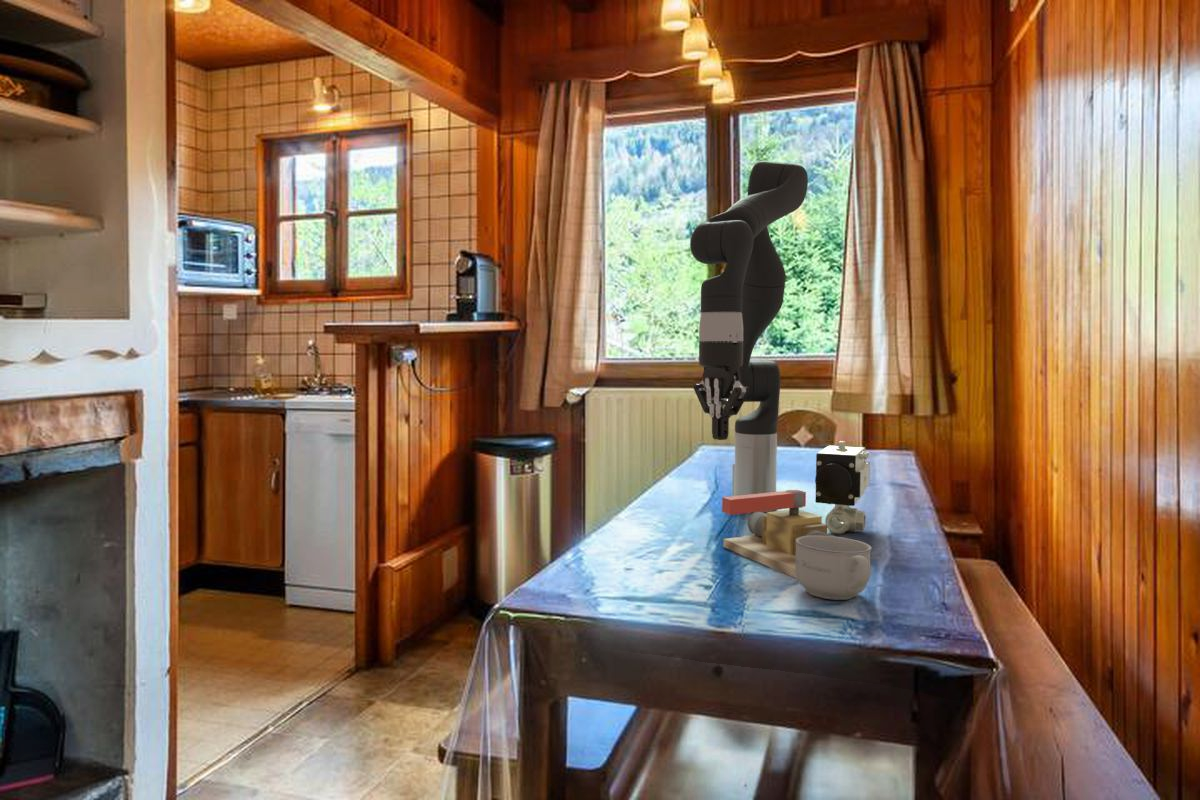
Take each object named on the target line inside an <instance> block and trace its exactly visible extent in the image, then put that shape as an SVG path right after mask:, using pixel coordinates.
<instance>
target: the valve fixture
mask: <svg viewBox="0 0 1200 800" xmlns="http://www.w3.org/2000/svg"><path fill="white" fill-rule="evenodd" d="M822 518H823V517H822V516H821V515H818V514H815V513H812V512H809V511H805V510H802V509H800V508H788V509H782V510H777V511H776V510H774V511H769V512H752V514H751V515H750V516H749V518H748V522H747V528H748V530H749V532H750V533H751V535H743V536H738V537H737V536H736V537H735V536H734V537H729V538H723V542H722V543H723V546H722V547H723V548H725V549H727V550H730V551H732V552H735V553H736V554H738V555H742V556H743V557H746V558H748V559H750V560H753V561H755V562H756V563H757V562H758V563H760V564H762V565H765V566H767V567H769V568H771V569H774V570H776V571H778V572H780V573H783V574H785V575H787V574H788V576H789V575H790V577H792V576H793V577H792V578H794V577H795V579H796V578H797V577H796V570H795V559H796V539H797V538H799V537H802V536H814V535H819V536H834V537H837V536H836V535H833V534H832V535H831V534H829V533H828V528H827V525H826V523H823V522H822Z"/></svg>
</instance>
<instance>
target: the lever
mask: <svg viewBox="0 0 1200 800" xmlns="http://www.w3.org/2000/svg"><path fill="white" fill-rule="evenodd" d="M806 497H807V493H806V491H803V490H799V489H787V490H781V491H779V490H778V491H776V492H769V493H759V494H749V495H740V496H732V495H731V496H722V500H721V502H722V503H721V504H722V506H721V507H722V508H721V511H722V513H723V514H724V513H725V514H727V515H730V516H731V515H741V514H749V513H754V512H760V511H769V510H774V511H776V510H777V511H779V510H788V509H789V508H799V509H800V508H801V509H802V508H804V507H806V505H807V504H806V502H807V500H806ZM769 512H770V511H769Z"/></svg>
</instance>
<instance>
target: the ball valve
mask: <svg viewBox="0 0 1200 800" xmlns="http://www.w3.org/2000/svg"><path fill="white" fill-rule="evenodd" d="M869 454H870V453H869V451H866V447H865V446H854V445H853V446H852V445H846V441H845V440H844V441H843V440H840V441H838V445H836V444H835V445H833V444H829V445H828V446H826V447H824V448H823V449H821V450H820V451H819V452H817V453H816V454H815V457H816V458H815V463H816V464H815V465H816V466H815V477H814V478H815V479H814V483H815V503H816V504H817V503H818V504H827V505H834V507H833V508H832V509H831V510H830V511H829V512H828V513H827V515H825V516H826V517H825V520H824V521H825V522H824V524H826V525H827V530H828V531H830V532H831V533H833V534H837V535H840V534H844V533H846V532H850V533H857V531H865V529H866V524H867V523H866V521H867V520H866V516H867V515H866V511H864V510H859V509H858V508H856V507H855V508H854V506H855V505H857V503H858V501H860V499H861V498H862V496H863V495H864V494H865V491H866V490H867V489H868V487H869V486H870V477H871V476H870V475H871V472H870V471H871V469H870V467H871V462H870V461H866V460H868V459H869V458H870V457H869Z"/></svg>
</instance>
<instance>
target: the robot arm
mask: <svg viewBox="0 0 1200 800" xmlns="http://www.w3.org/2000/svg"><path fill="white" fill-rule="evenodd" d="M808 176H809V175H808V172H807V169H806V168H805V167H803V166H802V165H800V164H797V163H789V162H777V161H768V160H767V161H766V160H760V161H757V162H755V163H754V165H753V166H752V169H751V170H750V174H749V178H748V184H747V195H746V196H744V197H743V198H740V199H739V200H737V201H736V202H735V203H734V204H733V205H731V206H730V207H729V208H728V209H726V211H725V212H722V213H721V212H720V213H719V214H716V215H714V216H712V217H709V218H707V219H706V220H704V221H702V222H700V223H699V224H698V225H697V226H696V227H695V228H694V229H693V232H692V233H691V237H690V242H689V247H690V249H689V250H690V252H691V255H692V256H693V258H694V259H695V260H696V261H697V262H699V263H700V264H704V265H715V264H718V265H719V264H720V265H721V264H726V266H725V268H724V269H723V271H722V272H721V274H719V275H715V276H712V277H710V278H707V279H705V280H703V281H702V283H701V288H700V317H699V327H698V364H699V365H698V366H700V367H701V368H703V372H702V374H701V379H702V380H701V381H700V382H699V383H694V385H693V390H694V393H695V395H696V397H697V400H698V402H699V403H700V406H701V408H702V410H703V412H704V414H708V415H709V417H710V418H711V434H712V435H711V436H712V439H713V440H717V441H724V440H727V439H728V436H729V425H730V424H729V421H730V418H731V417H732V416H737V415H738V413H739V411H740V410H741V408H742V406H743V405H744V403H748V402H749V403H755V402H757V403H759V406H758V407H757V408H756V409H755V410H754V411H752V412H750V413H748V414H747V415H743V416H740V417H739V418H737V419H736V420H735V421H734V422H735V423H734V463H733V464H732V477H731V478H732V479H731V480H732V481H731V482H732V485H731V487H732V490H731V493H732V495H731V496H740V495H749V494H759V493H769V492H777V467H778V466H777V465H778V464H777V463H778V462H777V460H778V459H777V457H778V454H777V453H778V424H779V423H778V422H779V411H780V410H779V406H780V394H781V393H780V392H781V371H780V368H779V364H778V363H777V362H776V361H774V360H771V359H770V360H769V359H768V360H765V359H763V360H762V359H760V360H759V359H758V360H756V359H754V360H753V359H752V360H751V357H752V353H753V351H754V348H755V345H756V344H757V342H758V340H759V339H760V337H761V336H762V335H763V333H764V332H765V331H766V329H767V328H768V327H769V326H770V325H771V323H772V322H773V321H774V320H775V318H776V316H777V315H778V314H779V312H780V310H781V309H782V307H783V303H784V296H785V295H784V294H785V288H786V279H787V278H786V277H787V276H786V275H787V274H786V270H785V266H784V264H783V262H782V259H781V258H780V255H779V253H778V251H777V249H776V247H775V246H774V243H773V240H772V238H771V235H770V233H769V229H768V226H769V225H771V224H773V223H774V222H776V221H778V220H780V219H781V218H783V217H785V216H788V215H789V214H791V213H793V212H796V211H797V210H798V209H799V208H800V207H801V206H802V204H803V203H804V200H805V199H806V196H807V193H808V185H809V177H808ZM774 511H775V510H769V511H760V512H763V513H767V512H774Z"/></svg>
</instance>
